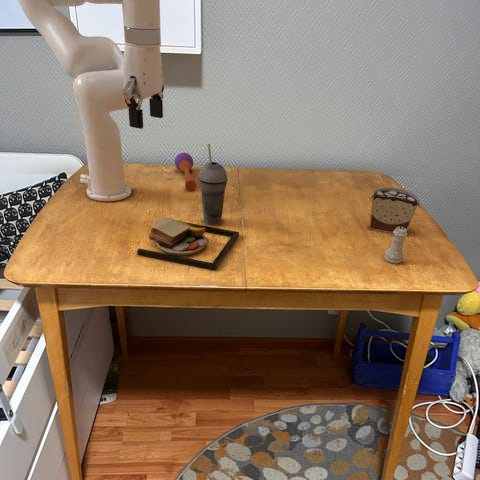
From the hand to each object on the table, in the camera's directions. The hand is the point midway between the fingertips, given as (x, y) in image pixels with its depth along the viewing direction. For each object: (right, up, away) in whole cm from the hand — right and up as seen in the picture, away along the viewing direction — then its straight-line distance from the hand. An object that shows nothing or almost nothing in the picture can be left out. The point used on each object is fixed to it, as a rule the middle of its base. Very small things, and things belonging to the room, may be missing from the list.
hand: (146, 122), depth 109 cm
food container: (+62, -21, +18) cm, 68 cm away
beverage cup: (+14, -20, +15) cm, 29 cm away
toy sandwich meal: (+7, -28, +4) cm, 29 cm away
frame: (+9, -28, +4) cm, 30 cm away
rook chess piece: (+58, -32, +3) cm, 67 cm away
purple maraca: (+5, -2, +39) cm, 40 cm away
